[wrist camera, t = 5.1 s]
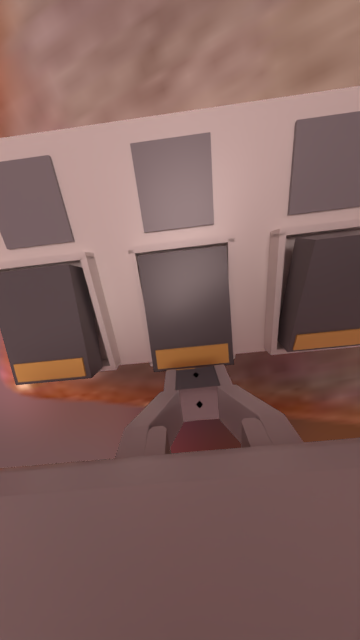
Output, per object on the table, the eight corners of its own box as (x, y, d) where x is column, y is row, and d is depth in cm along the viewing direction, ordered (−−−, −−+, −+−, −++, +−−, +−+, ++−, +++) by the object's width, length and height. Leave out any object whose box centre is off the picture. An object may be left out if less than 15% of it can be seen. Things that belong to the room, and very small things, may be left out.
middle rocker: (143, 261, 11) (137, 255, 10) (220, 252, 11) (226, 244, 9) (157, 361, 12) (153, 372, 11) (227, 355, 12) (234, 365, 10)
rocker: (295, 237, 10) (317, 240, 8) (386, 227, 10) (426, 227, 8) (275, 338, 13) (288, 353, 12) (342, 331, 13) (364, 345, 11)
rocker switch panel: (-14, 178, 13) (-112, 136, 9) (369, 125, 12) (478, 48, 8) (55, 353, 18) (14, 382, 13) (331, 325, 17) (384, 347, 12)
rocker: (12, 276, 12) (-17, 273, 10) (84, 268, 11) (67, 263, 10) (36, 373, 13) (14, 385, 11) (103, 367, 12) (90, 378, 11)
